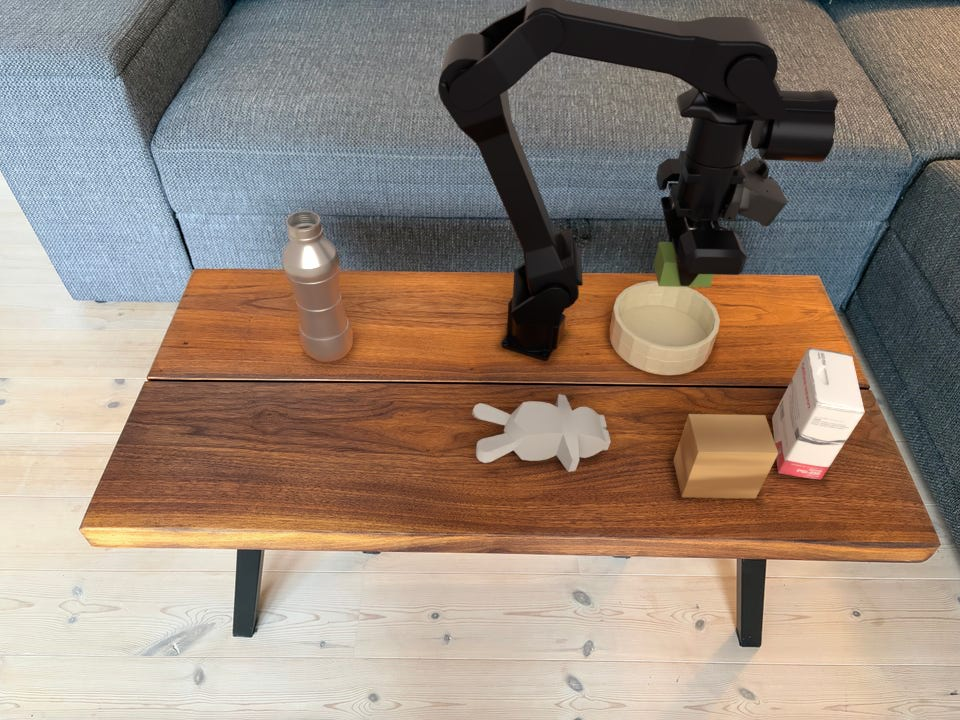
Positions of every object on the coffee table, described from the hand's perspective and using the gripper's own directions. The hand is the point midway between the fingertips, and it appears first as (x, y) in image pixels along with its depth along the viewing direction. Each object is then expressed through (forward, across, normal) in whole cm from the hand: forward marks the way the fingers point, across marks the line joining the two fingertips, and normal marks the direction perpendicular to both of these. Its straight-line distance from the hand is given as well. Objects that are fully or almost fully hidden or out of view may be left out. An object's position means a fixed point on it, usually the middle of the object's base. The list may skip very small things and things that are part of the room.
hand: (681, 273), depth 85 cm
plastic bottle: (+12, -2, +43) cm, 45 cm away
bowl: (+12, +1, 0) cm, 12 cm away
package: (0, 0, 0) cm, 0 cm away
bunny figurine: (+12, -17, +17) cm, 27 cm away
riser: (+12, -21, -2) cm, 24 cm away
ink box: (+12, -16, -13) cm, 24 cm away
